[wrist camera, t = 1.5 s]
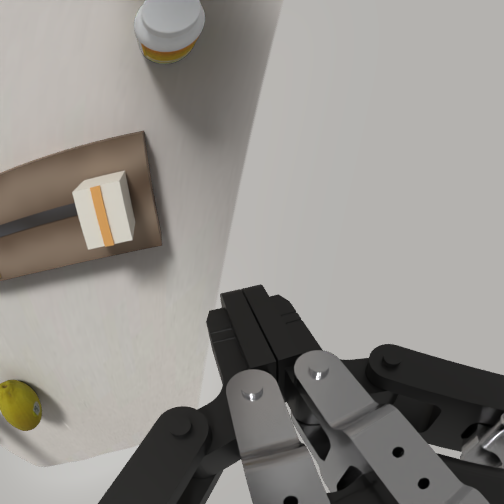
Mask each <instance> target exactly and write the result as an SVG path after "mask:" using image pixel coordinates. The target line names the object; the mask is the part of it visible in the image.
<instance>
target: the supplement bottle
mask: <svg viewBox="0 0 504 504" xmlns="http://www.w3.org/2000/svg"><path fill="white" fill-rule="evenodd" d="M204 23H205V13H204V10H203V7H202V5H201V3H200V0H145V2H144V4H143V5H142V6H141V7H140V9H139V10H138V12H137V14H136V17H135V21H134V29H135V34H136V37H137V41H138V44H139V47H140V50H141V52H142V53H143V55H144V56H145V57H146V58H147V59H149V60H150V61H152V62H155V63H159V64H170V63H174V62H177V61H179V60H181V59H183V58H184V57H185V56H187V55H188V54H189V52H190V51H191V50H192V48H193V46H194V44H195V43H196V41H197V39H198V37H199V35H200V34H201V32H202V30H203V27H204Z"/></svg>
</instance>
